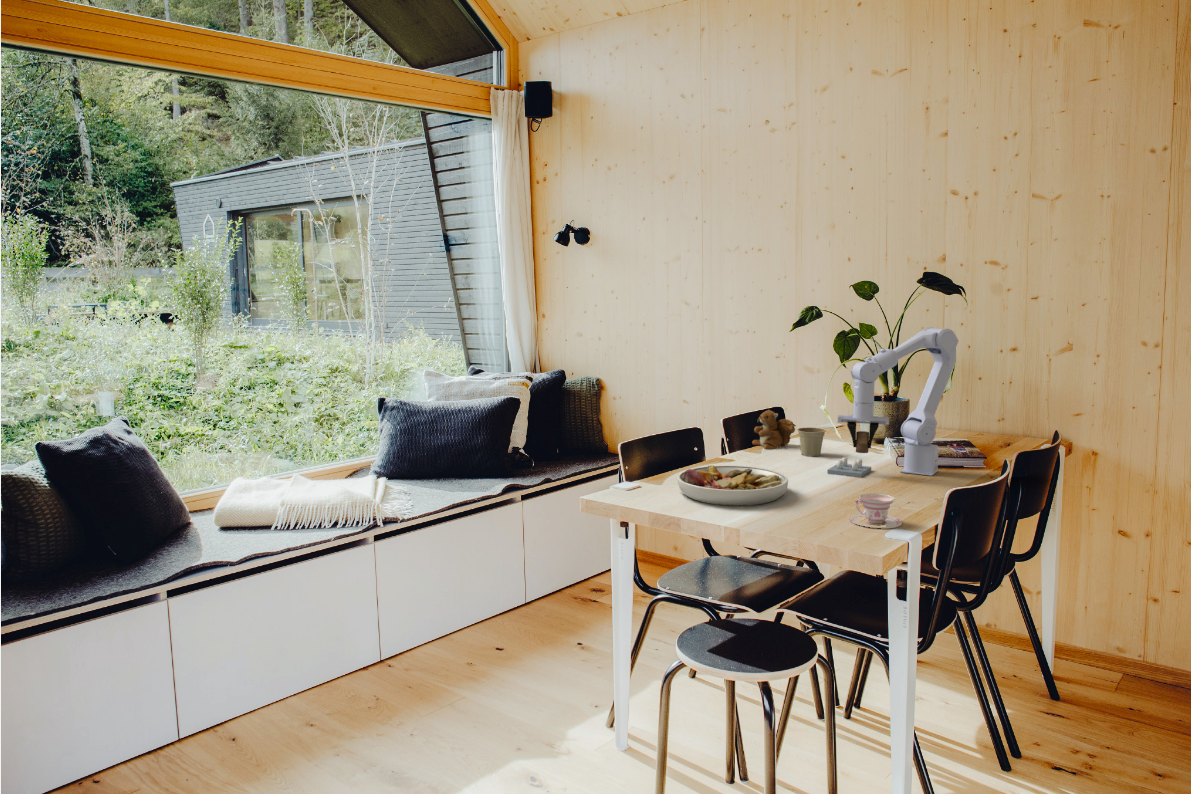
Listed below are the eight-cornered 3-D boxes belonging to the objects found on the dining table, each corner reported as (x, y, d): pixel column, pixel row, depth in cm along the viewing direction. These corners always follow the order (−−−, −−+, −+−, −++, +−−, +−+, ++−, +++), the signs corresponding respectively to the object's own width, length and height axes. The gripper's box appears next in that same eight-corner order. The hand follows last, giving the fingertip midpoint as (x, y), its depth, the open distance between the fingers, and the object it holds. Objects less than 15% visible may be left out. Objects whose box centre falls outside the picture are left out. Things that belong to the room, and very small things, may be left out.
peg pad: (871, 470, 253) (871, 458, 253) (860, 477, 244) (860, 465, 244) (839, 466, 259) (839, 455, 259) (827, 473, 250) (827, 461, 250)
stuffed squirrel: (749, 444, 297) (750, 408, 296) (786, 443, 300) (787, 407, 298) (760, 450, 288) (760, 412, 286) (798, 448, 290) (799, 411, 288)
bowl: (749, 478, 247) (750, 452, 246) (810, 501, 219) (810, 473, 218) (659, 488, 236) (659, 461, 235) (710, 514, 208) (710, 483, 207)
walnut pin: (870, 452, 247) (871, 432, 246) (863, 453, 244) (864, 433, 244) (860, 450, 249) (861, 430, 249) (853, 451, 247) (854, 432, 246)
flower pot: (826, 458, 273) (827, 432, 271) (797, 457, 274) (798, 431, 273) (823, 452, 282) (824, 427, 281) (795, 451, 283) (796, 427, 282)
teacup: (890, 515, 205) (891, 491, 204) (910, 529, 193) (911, 503, 192) (843, 516, 205) (843, 491, 204) (859, 530, 193) (860, 504, 192)
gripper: (889, 401, 246) (887, 446, 248) (839, 399, 251) (837, 443, 253) (889, 404, 240) (887, 450, 242) (837, 402, 245) (836, 447, 246)
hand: (862, 447), depth 247 cm, fingers closed on walnut pin, 4 cm apart
